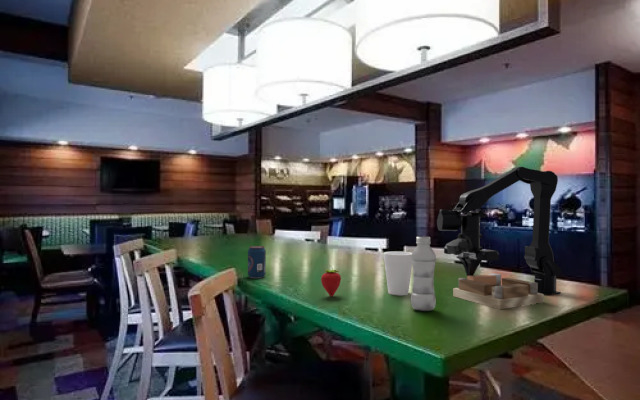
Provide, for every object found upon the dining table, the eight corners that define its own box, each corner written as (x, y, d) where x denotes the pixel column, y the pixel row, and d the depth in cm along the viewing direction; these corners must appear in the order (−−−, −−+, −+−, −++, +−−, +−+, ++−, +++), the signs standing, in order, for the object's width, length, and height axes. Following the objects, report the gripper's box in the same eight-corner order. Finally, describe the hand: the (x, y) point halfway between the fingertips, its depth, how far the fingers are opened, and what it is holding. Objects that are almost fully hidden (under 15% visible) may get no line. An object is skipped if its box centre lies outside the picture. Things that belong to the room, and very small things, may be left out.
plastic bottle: (417, 306, 120) (417, 235, 120) (439, 310, 115) (440, 237, 115) (406, 310, 115) (406, 237, 115) (429, 314, 110) (429, 238, 110)
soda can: (245, 276, 167) (245, 246, 168) (261, 275, 171) (262, 245, 171) (251, 279, 161) (251, 247, 161) (268, 277, 165) (268, 247, 165)
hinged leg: (495, 282, 140) (495, 273, 140) (503, 284, 137) (503, 275, 137) (466, 285, 136) (466, 275, 136) (474, 287, 132) (474, 277, 132)
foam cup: (391, 297, 131) (391, 255, 131) (379, 291, 140) (379, 252, 140) (418, 295, 134) (418, 254, 134) (405, 289, 143) (405, 251, 143)
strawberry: (317, 297, 130) (317, 265, 130) (328, 293, 137) (328, 262, 137) (334, 299, 127) (334, 266, 127) (344, 295, 134) (344, 263, 134)
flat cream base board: (494, 291, 140) (494, 274, 140) (543, 302, 124) (543, 283, 124) (453, 296, 133) (453, 278, 133) (499, 309, 116) (499, 288, 116)
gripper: (431, 229, 142) (431, 275, 142) (473, 234, 125) (472, 286, 125) (457, 228, 147) (456, 273, 147) (500, 233, 130) (499, 283, 130)
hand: (469, 278), depth 137 cm, fingers closed
